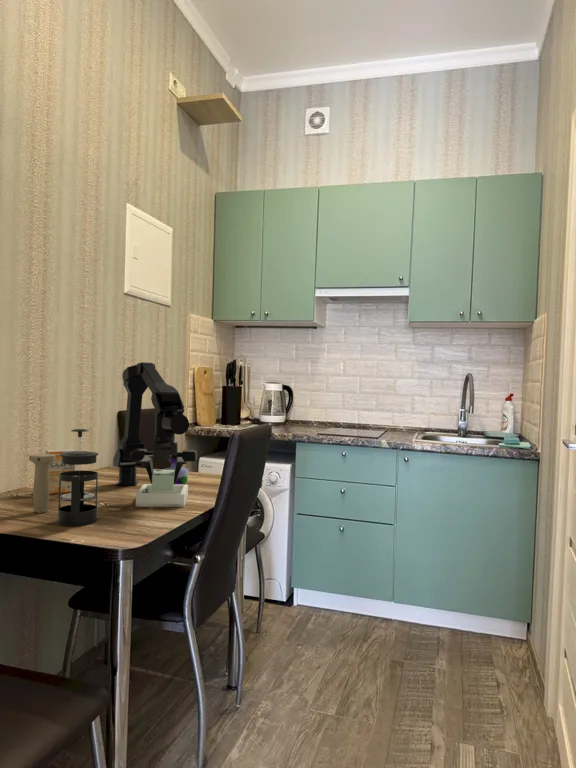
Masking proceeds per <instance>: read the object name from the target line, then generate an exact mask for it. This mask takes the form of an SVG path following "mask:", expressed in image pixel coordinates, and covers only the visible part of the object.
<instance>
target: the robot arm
mask: <svg viewBox="0 0 576 768" xmlns="http://www.w3.org/2000/svg"><path fill="white" fill-rule="evenodd" d="M121 376H122V383H123V387H124V389H125V391H126V393H127V399H126V410H125V411H126V412H125V424H124V425H125V426H124V434H123V437H122V438H121V440H120V441H119V443H118V447H117V450H116V452H115V455H114V457H113V458H112V459H113V460H112V464H113V467H116V468H118V481H117V482H116V483H115V486H137V485H138V484H139V481H140V480H137V467H142V466H144V468H145V469H146V472H147V475H148V479H149V481H150V484H152V475H153V472H154V466H153V464H154V463H153V460H154V461H155V460H156V461H158V460H163V461H169V459H170V458H177V462H176V469H175V475H174V485H175V484H176V481H177V478H178V475H179V472H180V470H181V467H183V465H187V464H188V462H197V459H198V451H197V450H196V449H182V452H181V451H180V452H179V450H178V449H179V448H178V447H179V445H178V442H175V438H176V437H175V436H176V435H178V436H180V435H184V434H185V433H186V432H187V431H189V428H190V422H189V419H188V417H187V416H186V415H184V412H185V409H184V408H185V405H184V403H183V400H182V398H181V395H180V393H179V391H178V389H176V388H175V387H174V386H173V385H170V384H168V383H166V381H165V380H164V379H163V378H162V375H161V374H160V373H159V371H158V370H157V369H156V365H155V363H152V362H140V361H139V362H138V363H137V364H134V365H131V366H128V367H125V369H124V370H123V372H122V375H121ZM147 389H149V391H150V392H151V398H150V400H151V404H152V406H153V408H154V410H155V411H154V412H153V415H154V416H155V417H154V418H155V419H154V420H155V421H154V422H155V423H154V424H155V425H154V426H155V427H154V442H153V445H152V451H148V450H147V448H145V445H144V443H143V442H142V441H141V438H140V431H141V430H140V427H141V417H142V404H143V395H144V393H145V392H146V391H147Z"/></svg>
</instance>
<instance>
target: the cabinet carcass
mask: <svg viewBox="0 0 576 768" xmlns="http://www.w3.org/2000/svg"><path fill="white" fill-rule="evenodd" d="M187 497H189V484H185V485H174V489H173V491H152V484H151V483H148V484H147V483H144V484H143V485H142V486H141V487H140V489H138V490H137V492H136V493H135V507H138V508H140V507H141V508H160V507H161V508H162V507H163V508H174V507H175V508H184V507H185V505H186V503H187V500H188V498H187Z"/></svg>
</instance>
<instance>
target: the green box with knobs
mask: <svg viewBox="0 0 576 768" xmlns="http://www.w3.org/2000/svg"><path fill="white" fill-rule="evenodd" d="M173 489H174V470H163V469H153V475H152V491H173Z"/></svg>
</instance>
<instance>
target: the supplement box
mask: <svg viewBox="0 0 576 768" xmlns="http://www.w3.org/2000/svg"><path fill="white" fill-rule="evenodd" d="M73 451H76V450H75V449H45V454H53V455H56V458H55V460H54V461H53V462H51V463H50V464H49V485H50V489H49V490H50V494H49V495H51V494H59V475H60V473H62V472H67V471H76V465H68V464H63V463H62V456H60V454H61V453H66V452H73ZM71 485H72V482H66V481H61V494H67V493H71Z"/></svg>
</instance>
